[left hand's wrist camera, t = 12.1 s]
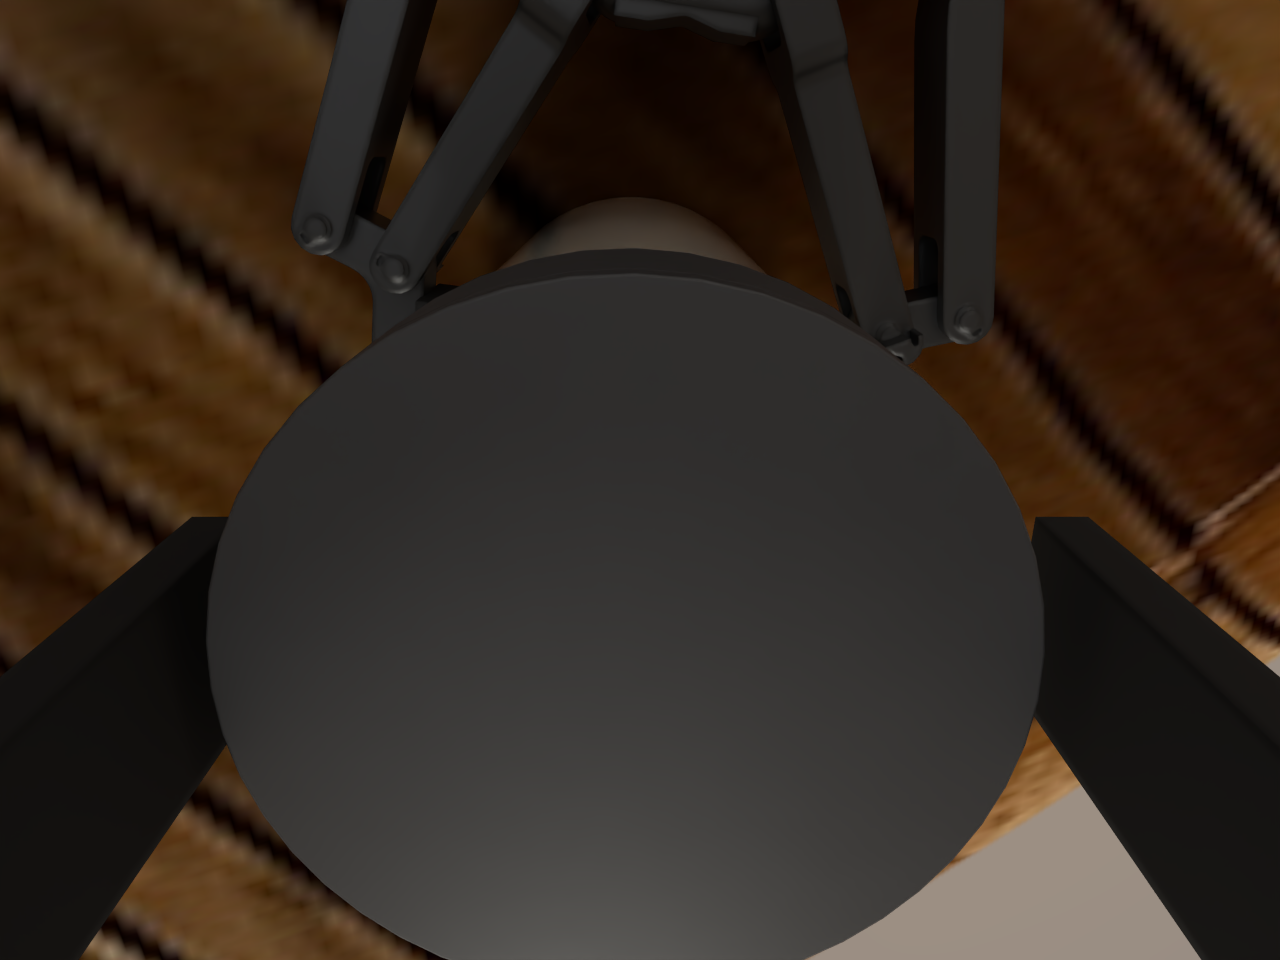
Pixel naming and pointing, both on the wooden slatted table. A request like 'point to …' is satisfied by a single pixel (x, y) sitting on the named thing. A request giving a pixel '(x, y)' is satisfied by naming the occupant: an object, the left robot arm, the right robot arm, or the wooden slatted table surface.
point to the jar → (632, 232)
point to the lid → (625, 620)
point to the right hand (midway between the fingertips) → (609, 550)
